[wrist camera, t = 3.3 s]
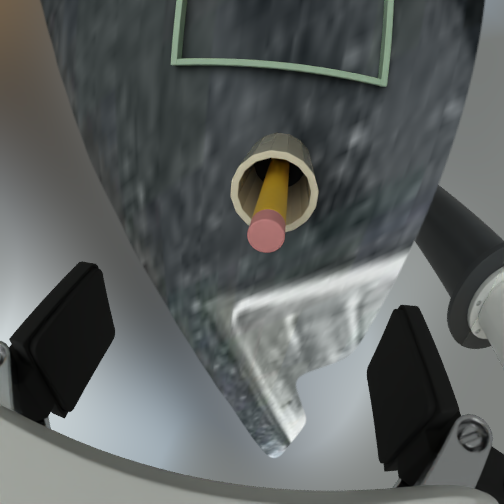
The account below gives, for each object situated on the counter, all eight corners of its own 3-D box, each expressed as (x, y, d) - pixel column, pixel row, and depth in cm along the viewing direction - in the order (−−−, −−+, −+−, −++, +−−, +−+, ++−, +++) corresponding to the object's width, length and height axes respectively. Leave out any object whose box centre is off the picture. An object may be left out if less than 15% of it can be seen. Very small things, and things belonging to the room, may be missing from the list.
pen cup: (314, 136, 28) (324, 157, 19) (306, 194, 31) (310, 238, 22) (252, 129, 29) (233, 146, 20) (247, 186, 31) (228, 227, 23)
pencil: (290, 155, 29) (287, 221, 15) (288, 173, 30) (282, 255, 16) (271, 152, 29) (248, 217, 15) (269, 171, 30) (245, 250, 16)
